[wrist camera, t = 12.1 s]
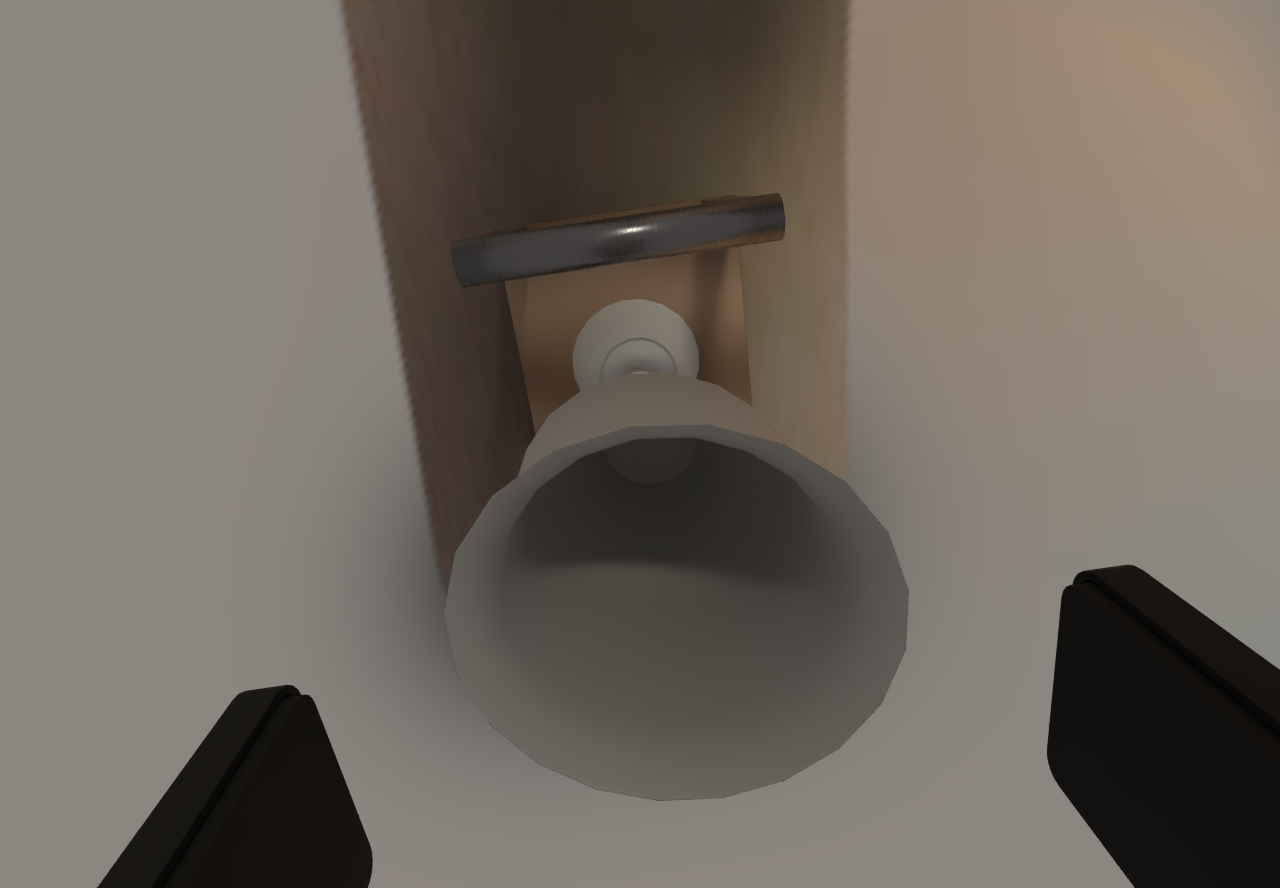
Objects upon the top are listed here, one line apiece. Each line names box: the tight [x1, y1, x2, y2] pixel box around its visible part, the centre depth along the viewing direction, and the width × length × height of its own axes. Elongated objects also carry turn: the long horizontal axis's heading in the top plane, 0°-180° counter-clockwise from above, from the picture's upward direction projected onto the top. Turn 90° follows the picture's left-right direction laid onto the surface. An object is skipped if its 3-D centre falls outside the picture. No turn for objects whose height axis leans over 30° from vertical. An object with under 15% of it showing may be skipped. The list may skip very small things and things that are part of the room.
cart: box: [452, 193, 785, 434], centre depth 26 cm, size 12×9×12 cm
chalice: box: [444, 299, 909, 801], centre depth 19 cm, size 7×7×18 cm
